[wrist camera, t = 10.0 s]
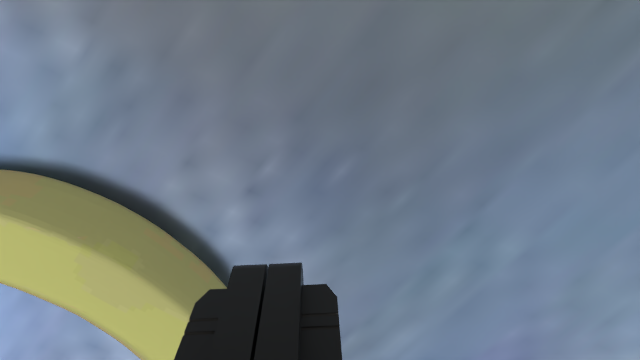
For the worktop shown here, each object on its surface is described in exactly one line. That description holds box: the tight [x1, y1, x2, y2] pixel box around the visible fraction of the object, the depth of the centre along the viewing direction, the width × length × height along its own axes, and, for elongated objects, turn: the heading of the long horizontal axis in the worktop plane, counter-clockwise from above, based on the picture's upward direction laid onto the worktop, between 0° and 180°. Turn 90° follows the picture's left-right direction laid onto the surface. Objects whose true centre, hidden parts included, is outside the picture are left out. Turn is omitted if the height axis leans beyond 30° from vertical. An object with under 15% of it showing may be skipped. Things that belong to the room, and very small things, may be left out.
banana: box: [0, 169, 227, 360], centre depth 27 cm, size 14×6×20 cm
